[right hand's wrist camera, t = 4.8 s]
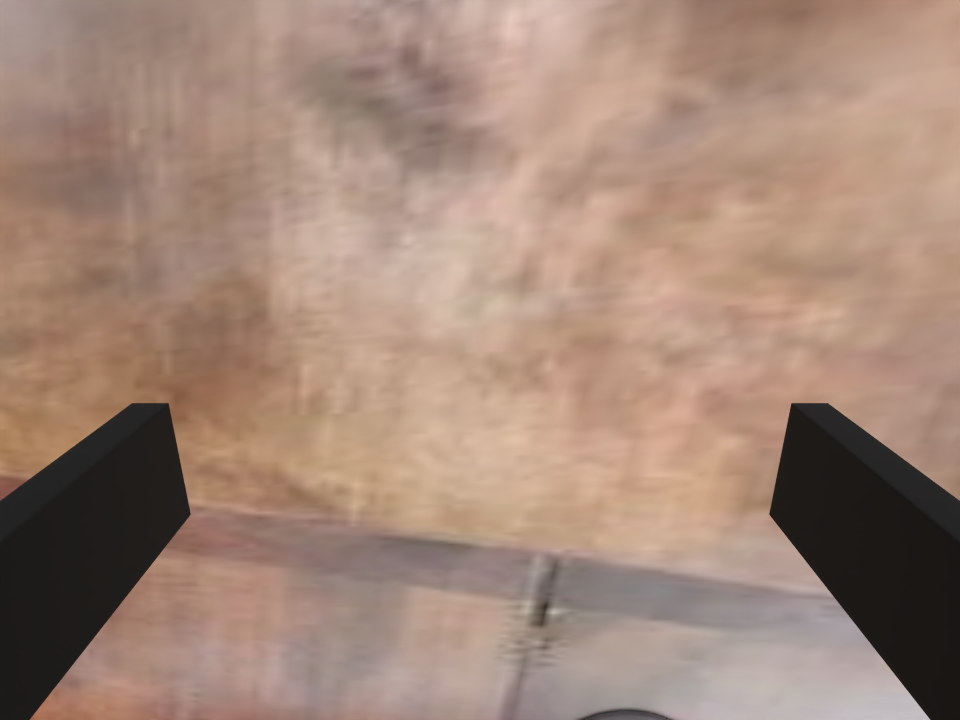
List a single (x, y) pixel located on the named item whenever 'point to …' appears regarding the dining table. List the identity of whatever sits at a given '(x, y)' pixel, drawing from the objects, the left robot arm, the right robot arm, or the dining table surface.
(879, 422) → the dining table surface
